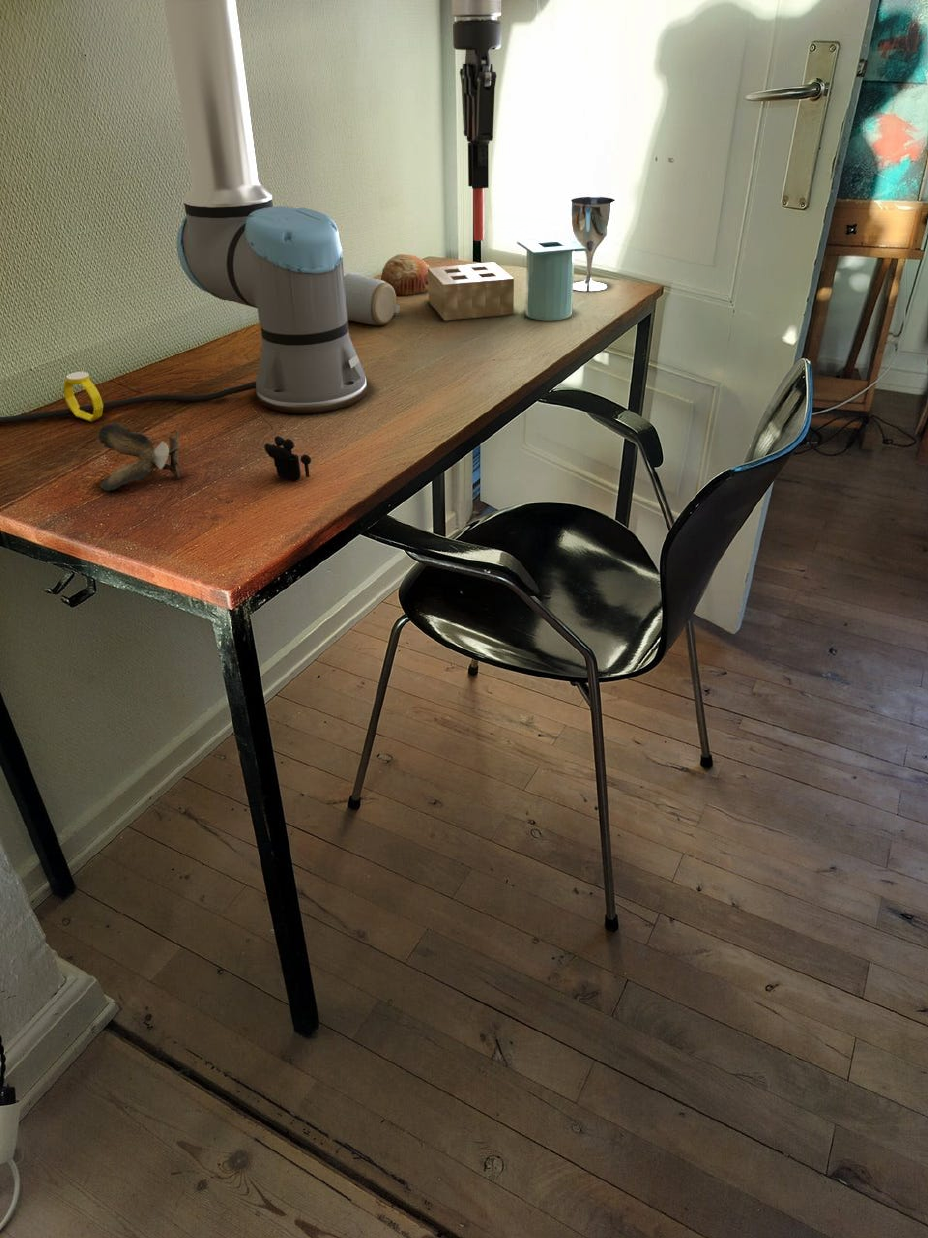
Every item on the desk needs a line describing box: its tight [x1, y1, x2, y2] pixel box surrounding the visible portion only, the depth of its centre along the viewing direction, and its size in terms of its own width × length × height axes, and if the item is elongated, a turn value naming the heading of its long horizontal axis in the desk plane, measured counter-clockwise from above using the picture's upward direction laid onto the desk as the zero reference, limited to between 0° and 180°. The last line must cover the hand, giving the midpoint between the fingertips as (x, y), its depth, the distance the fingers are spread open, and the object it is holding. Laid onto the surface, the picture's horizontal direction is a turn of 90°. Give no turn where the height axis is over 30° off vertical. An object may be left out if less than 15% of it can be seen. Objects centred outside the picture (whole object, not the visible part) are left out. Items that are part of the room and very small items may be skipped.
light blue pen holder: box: [525, 244, 576, 322], centre depth 153 cm, size 8×8×11 cm
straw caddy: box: [427, 262, 515, 321], centre depth 158 cm, size 12×12×6 cm
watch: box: [62, 371, 104, 423], centre depth 118 cm, size 6×3×6 cm, turn 58°
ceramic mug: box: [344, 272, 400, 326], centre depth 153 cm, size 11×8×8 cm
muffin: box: [380, 253, 431, 296], centre depth 171 cm, size 10×10×8 cm
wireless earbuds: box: [264, 435, 312, 482], centre depth 102 cm, size 7×2×5 cm, turn 55°
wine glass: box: [569, 196, 616, 292], centre depth 166 cm, size 8×8×15 cm
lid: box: [516, 236, 586, 255], centre depth 150 cm, size 9×9×1 cm
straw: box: [472, 116, 485, 242], centre depth 151 cm, size 2×2×19 cm
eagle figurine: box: [97, 422, 181, 492], centre depth 102 cm, size 8×7×9 cm
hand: (478, 186), depth 152 cm, fingers closed on straw, 2 cm apart
